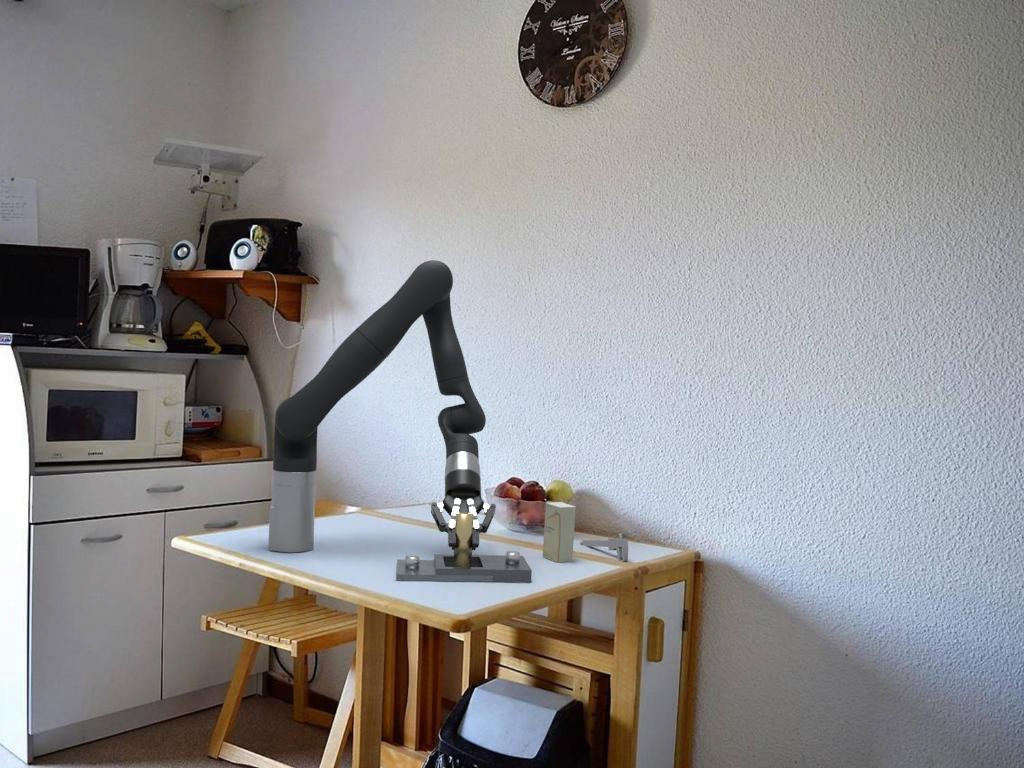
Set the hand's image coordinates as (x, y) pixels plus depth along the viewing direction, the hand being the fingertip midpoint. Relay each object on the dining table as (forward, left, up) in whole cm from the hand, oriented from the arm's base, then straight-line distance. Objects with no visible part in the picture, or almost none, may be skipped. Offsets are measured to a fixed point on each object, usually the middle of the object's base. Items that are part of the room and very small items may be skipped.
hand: (464, 547), depth 176 cm
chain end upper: (+4, +2, -6) cm, 7 cm away
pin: (0, +2, -5) cm, 5 cm away
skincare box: (+22, +17, -6) cm, 28 cm away
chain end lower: (-4, +2, -6) cm, 7 cm away
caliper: (+34, +25, -6) cm, 43 cm away
